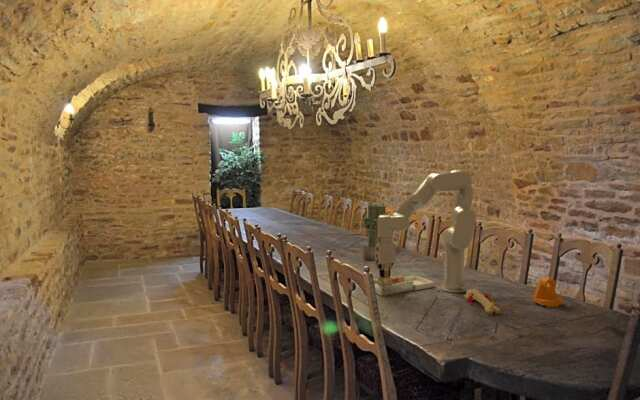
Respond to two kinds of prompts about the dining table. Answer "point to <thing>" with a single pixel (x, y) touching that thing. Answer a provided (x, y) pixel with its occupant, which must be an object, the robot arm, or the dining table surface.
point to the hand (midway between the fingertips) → (384, 276)
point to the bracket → (546, 293)
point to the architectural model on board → (369, 253)
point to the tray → (420, 282)
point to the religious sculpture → (373, 222)
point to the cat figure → (482, 301)
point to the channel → (393, 287)
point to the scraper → (385, 276)
